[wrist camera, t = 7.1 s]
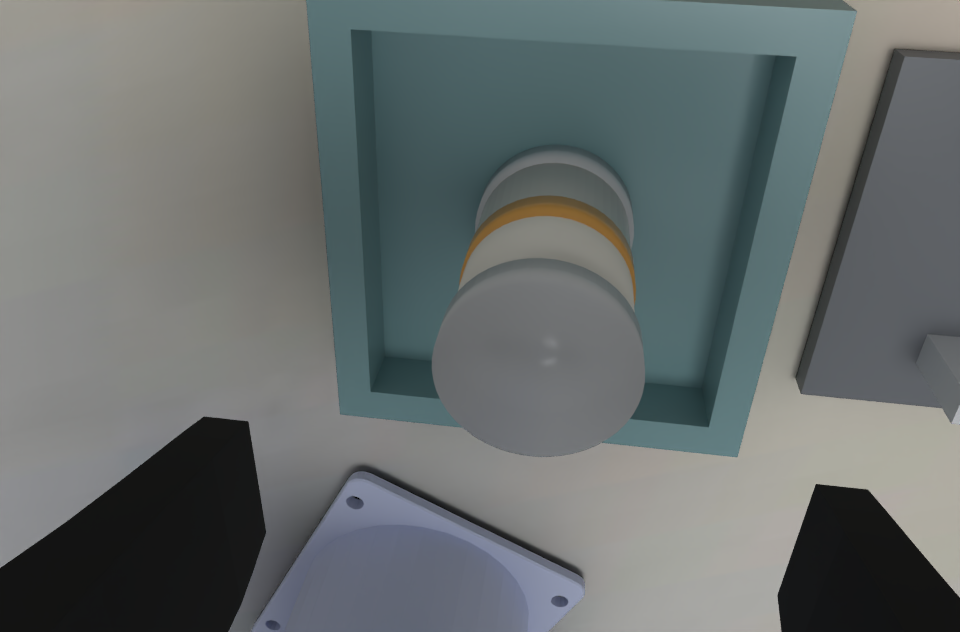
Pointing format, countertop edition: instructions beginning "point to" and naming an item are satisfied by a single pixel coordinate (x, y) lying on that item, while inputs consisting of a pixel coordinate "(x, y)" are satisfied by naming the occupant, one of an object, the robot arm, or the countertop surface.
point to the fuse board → (898, 252)
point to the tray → (592, 127)
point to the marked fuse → (545, 309)
